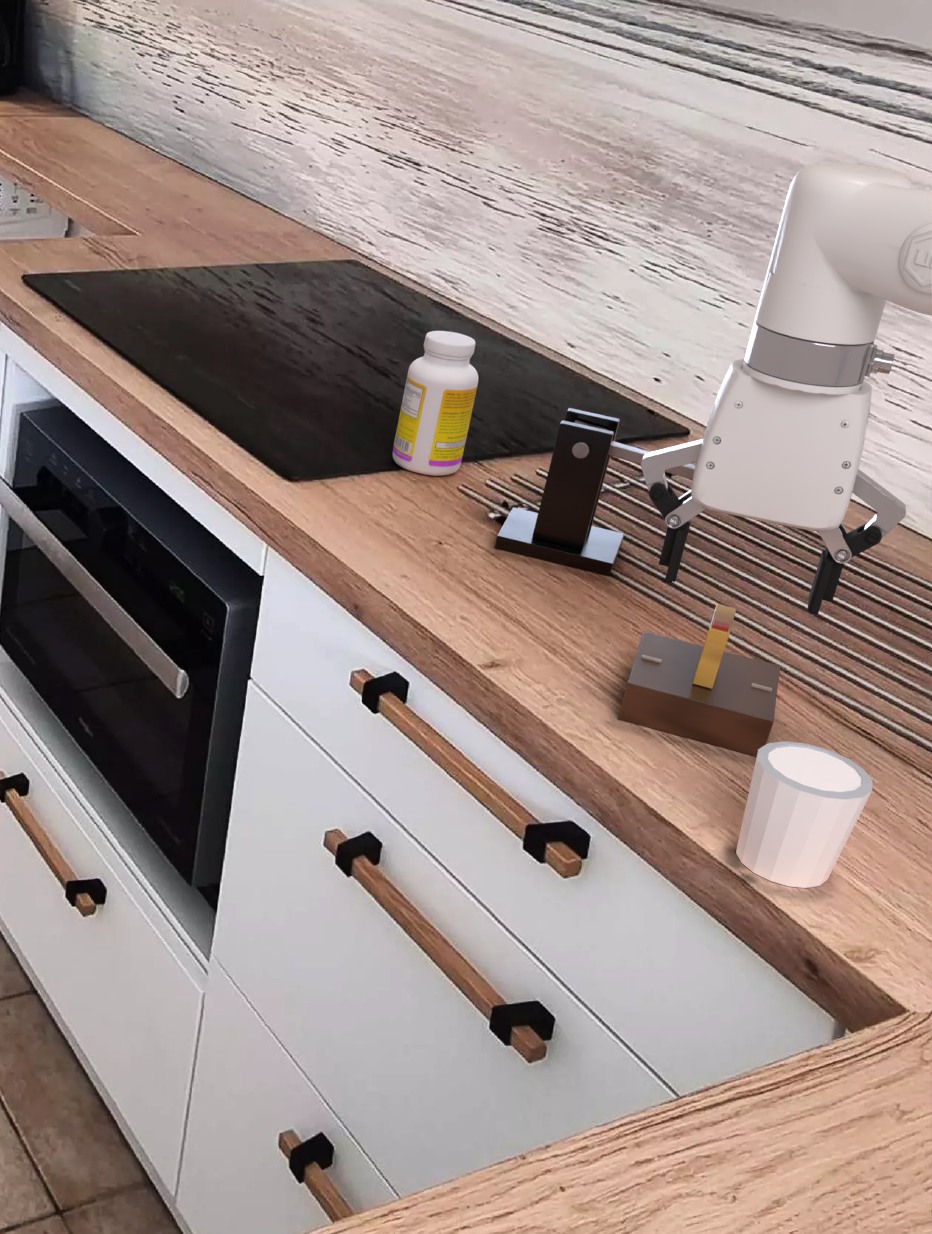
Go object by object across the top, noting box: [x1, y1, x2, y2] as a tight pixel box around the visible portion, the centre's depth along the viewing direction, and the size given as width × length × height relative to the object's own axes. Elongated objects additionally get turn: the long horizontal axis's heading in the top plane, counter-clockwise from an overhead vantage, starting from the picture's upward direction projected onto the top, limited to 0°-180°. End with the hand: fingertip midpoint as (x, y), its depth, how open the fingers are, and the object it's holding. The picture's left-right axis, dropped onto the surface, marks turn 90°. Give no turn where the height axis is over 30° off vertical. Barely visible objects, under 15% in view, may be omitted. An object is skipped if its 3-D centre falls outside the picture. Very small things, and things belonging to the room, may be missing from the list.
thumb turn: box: [693, 603, 737, 689], centre depth 126 cm, size 5×1×5 cm, turn 155°
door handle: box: [574, 420, 696, 480], centre depth 148 cm, size 12×5×2 cm, turn 67°
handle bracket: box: [494, 407, 625, 577], centre depth 151 cm, size 10×8×12 cm
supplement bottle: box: [392, 330, 479, 477], centre depth 167 cm, size 7×7×13 cm
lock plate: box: [617, 630, 781, 758], centre depth 127 cm, size 10×10×3 cm
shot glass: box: [735, 740, 874, 889], centre depth 109 cm, size 7×7×7 cm
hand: (741, 591), depth 123 cm, fingers open, 9 cm apart
